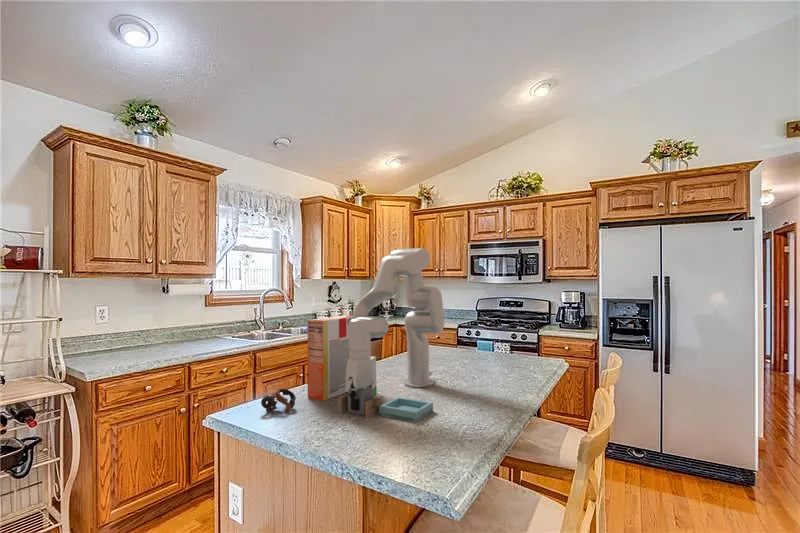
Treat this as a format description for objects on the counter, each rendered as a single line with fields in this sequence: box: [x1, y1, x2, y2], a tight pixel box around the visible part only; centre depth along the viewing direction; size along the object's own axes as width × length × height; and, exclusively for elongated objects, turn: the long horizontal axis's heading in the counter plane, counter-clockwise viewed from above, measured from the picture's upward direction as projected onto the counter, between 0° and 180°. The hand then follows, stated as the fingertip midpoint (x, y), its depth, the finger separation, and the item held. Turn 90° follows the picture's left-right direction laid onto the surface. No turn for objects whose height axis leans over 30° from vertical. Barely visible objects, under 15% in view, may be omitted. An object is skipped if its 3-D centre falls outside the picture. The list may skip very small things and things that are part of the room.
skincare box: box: [371, 356, 378, 398], centre depth 155 cm, size 8×7×16 cm
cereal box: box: [307, 314, 353, 401], centre depth 165 cm, size 23×8×30 cm, turn 149°
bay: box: [338, 393, 383, 419], centre depth 140 cm, size 8×12×5 cm, turn 59°
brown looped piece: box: [260, 388, 297, 414], centre depth 141 cm, size 12×10×8 cm
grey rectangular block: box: [347, 386, 373, 416], centre depth 140 cm, size 5×7×9 cm
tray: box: [379, 396, 434, 423], centre depth 137 cm, size 12×14×3 cm
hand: (360, 407), depth 140 cm, fingers closed on grey rectangular block, 5 cm apart
